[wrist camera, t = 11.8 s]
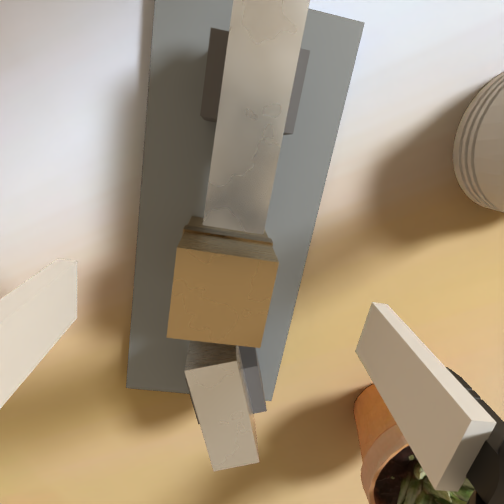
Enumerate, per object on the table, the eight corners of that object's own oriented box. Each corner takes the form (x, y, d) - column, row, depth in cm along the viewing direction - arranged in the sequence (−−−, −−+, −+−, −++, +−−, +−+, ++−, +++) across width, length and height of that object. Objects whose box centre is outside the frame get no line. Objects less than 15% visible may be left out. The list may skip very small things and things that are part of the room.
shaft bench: (160, -21, 18) (141, -70, 14) (358, 28, 20) (393, -3, 16) (129, 379, 27) (111, 423, 23) (269, 392, 28) (277, 436, 24)
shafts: (238, -17, 15) (240, -54, 12) (352, 12, 16) (379, -17, 13) (176, 429, 23) (169, 468, 20) (253, 434, 24) (256, 474, 21)
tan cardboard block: (181, 283, 23) (164, 338, 17) (190, 214, 22) (175, 245, 15) (252, 293, 24) (261, 349, 18) (265, 226, 23) (281, 260, 16)
